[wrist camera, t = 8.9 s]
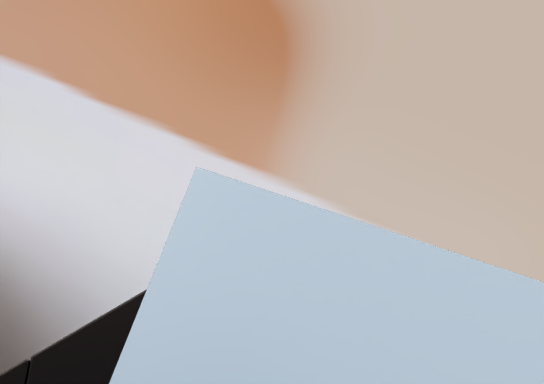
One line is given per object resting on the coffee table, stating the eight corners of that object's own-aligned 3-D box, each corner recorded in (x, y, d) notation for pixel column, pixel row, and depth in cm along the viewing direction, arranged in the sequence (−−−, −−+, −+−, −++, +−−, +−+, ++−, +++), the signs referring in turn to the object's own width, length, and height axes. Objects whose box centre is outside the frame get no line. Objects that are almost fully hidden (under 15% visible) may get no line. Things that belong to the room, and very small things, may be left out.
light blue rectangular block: (382, 292, 14) (630, 296, 4) (335, 455, 13) (484, 1112, 3) (265, 251, 14) (180, 149, 4) (210, 405, 13) (-82, 784, 3)
